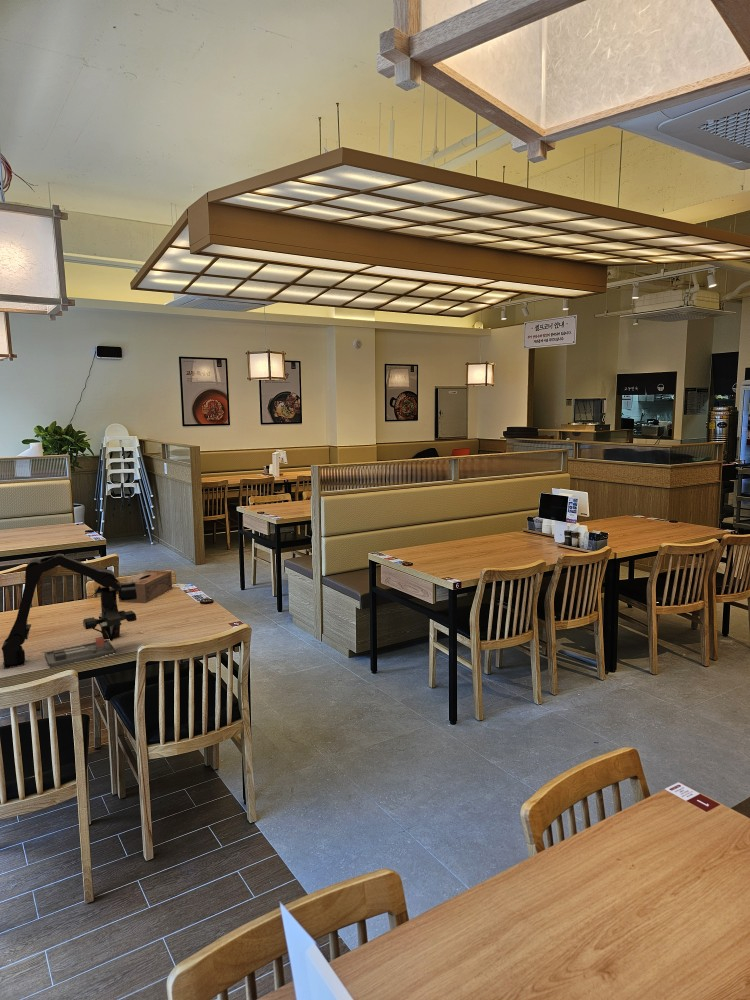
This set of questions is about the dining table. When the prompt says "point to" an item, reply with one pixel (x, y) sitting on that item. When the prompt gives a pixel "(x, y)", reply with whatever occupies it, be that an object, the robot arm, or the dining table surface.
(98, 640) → the tab
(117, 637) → the coffee mug
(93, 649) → the tongs fixed body
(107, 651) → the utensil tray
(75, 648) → the bar
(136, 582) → the tissue box cover
